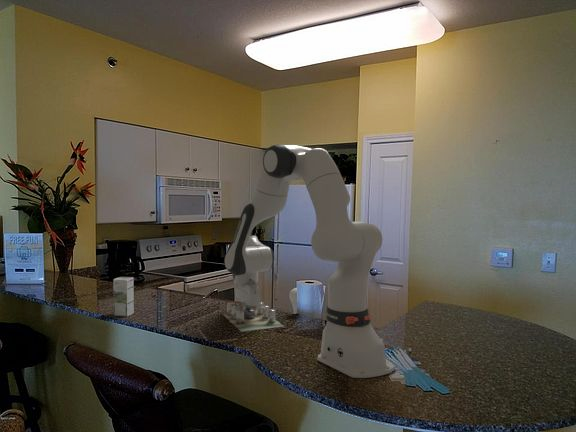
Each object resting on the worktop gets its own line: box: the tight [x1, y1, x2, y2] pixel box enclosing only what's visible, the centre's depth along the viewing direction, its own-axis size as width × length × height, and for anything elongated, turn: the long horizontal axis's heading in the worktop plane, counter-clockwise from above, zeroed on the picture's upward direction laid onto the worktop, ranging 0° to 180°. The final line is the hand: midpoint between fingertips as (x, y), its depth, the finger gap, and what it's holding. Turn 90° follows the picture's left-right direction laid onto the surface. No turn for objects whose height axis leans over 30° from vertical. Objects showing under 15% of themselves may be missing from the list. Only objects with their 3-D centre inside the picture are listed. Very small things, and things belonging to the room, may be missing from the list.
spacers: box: [226, 301, 277, 325], centre depth 154 cm, size 18×14×4 cm
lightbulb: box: [288, 287, 298, 315], centre depth 161 cm, size 6×6×11 cm
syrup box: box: [112, 276, 135, 317], centre depth 160 cm, size 6×6×14 cm
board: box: [222, 309, 285, 333], centre depth 153 cm, size 24×16×1 cm, turn 24°
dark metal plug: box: [244, 308, 256, 320], centre depth 155 cm, size 4×4×3 cm
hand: (246, 312), depth 159 cm, fingers closed
